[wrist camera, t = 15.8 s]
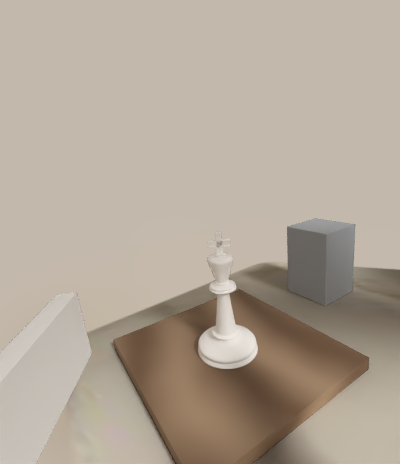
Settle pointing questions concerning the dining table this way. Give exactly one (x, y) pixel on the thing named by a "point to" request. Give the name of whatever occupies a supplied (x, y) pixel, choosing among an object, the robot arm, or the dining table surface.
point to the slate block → (321, 259)
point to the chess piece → (225, 318)
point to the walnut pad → (234, 381)
